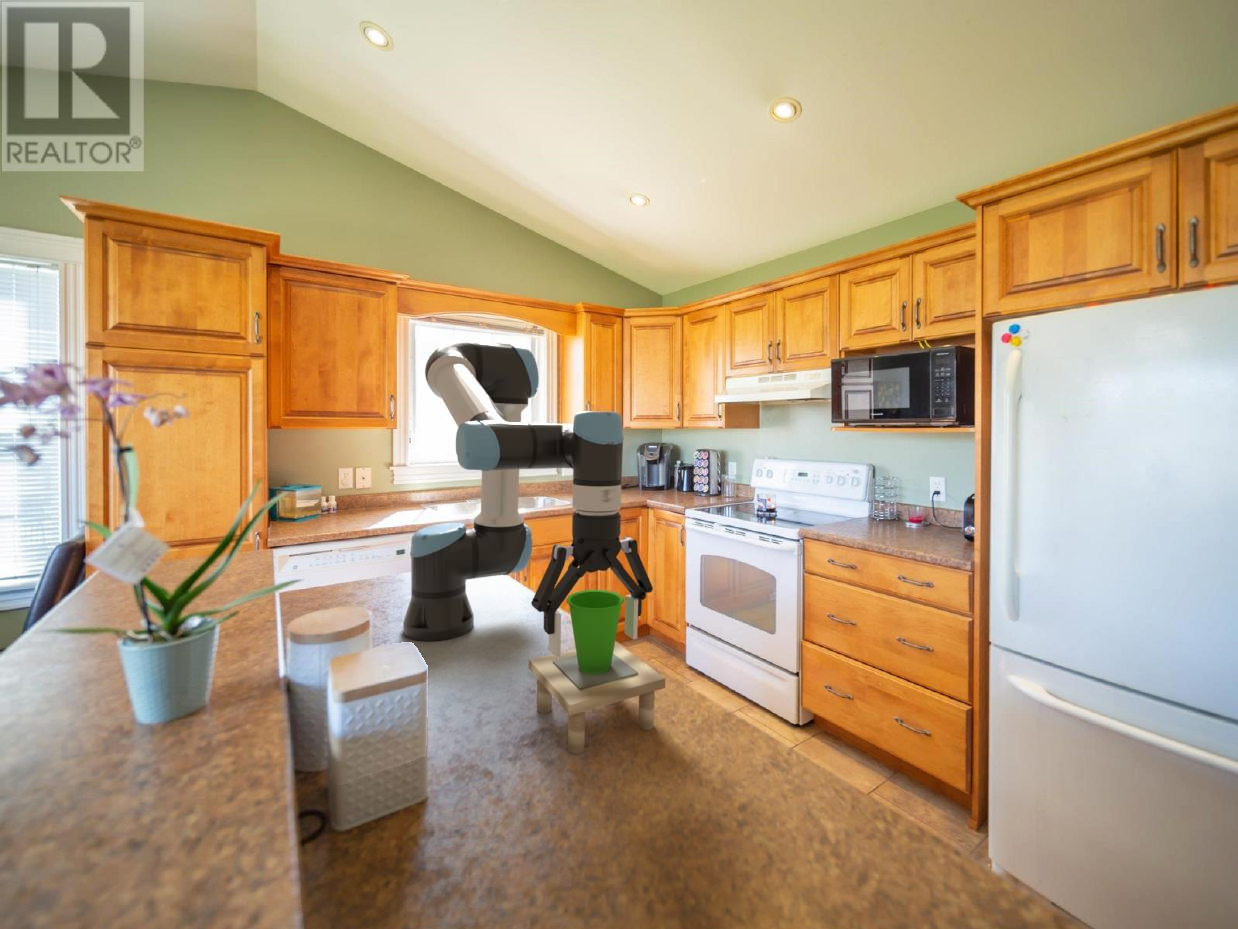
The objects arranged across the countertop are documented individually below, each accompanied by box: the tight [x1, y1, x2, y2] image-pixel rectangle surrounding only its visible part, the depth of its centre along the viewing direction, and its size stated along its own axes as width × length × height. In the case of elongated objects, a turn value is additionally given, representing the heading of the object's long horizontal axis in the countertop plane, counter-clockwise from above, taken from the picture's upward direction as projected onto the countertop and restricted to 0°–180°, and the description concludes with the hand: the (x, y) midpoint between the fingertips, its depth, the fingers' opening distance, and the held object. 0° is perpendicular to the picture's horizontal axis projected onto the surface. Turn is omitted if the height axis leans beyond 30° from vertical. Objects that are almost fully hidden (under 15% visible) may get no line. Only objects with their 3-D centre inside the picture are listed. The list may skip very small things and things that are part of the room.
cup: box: [566, 589, 625, 674], centre depth 81 cm, size 9×9×11 cm
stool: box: [528, 641, 666, 755], centre depth 82 cm, size 16×16×8 cm
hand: (594, 644), depth 81 cm, fingers open, 13 cm apart
